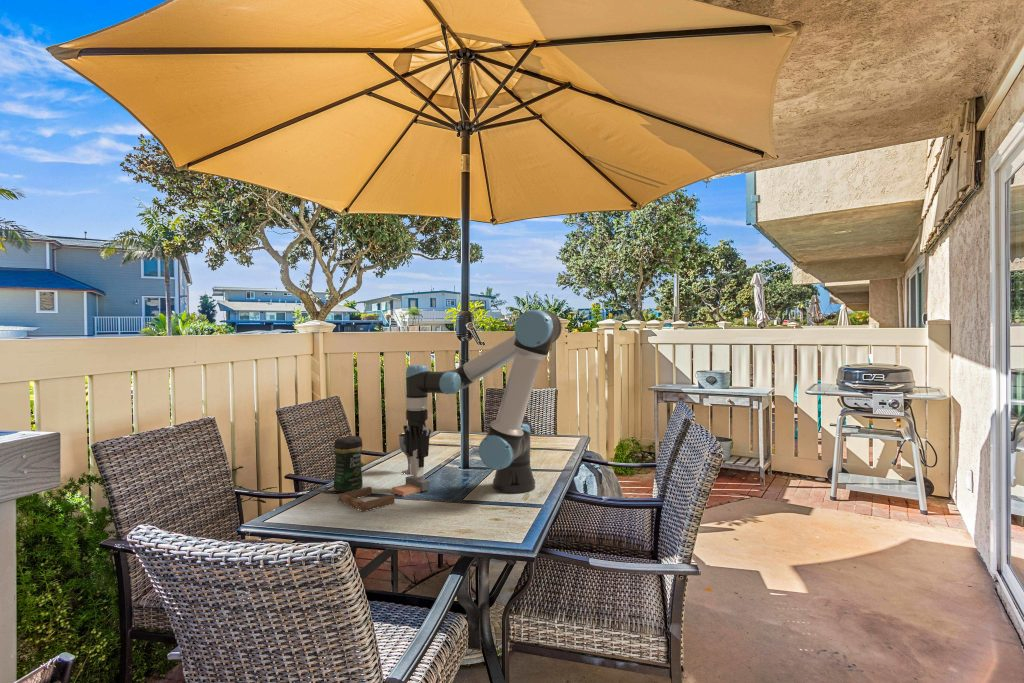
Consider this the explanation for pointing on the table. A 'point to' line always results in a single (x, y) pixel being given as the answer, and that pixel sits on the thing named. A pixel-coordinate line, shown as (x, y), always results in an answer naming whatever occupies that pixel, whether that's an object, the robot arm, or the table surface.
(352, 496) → the frame
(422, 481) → the scraper
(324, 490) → the table surface
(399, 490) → the tile
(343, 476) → the coffee jar
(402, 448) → the wine glass
